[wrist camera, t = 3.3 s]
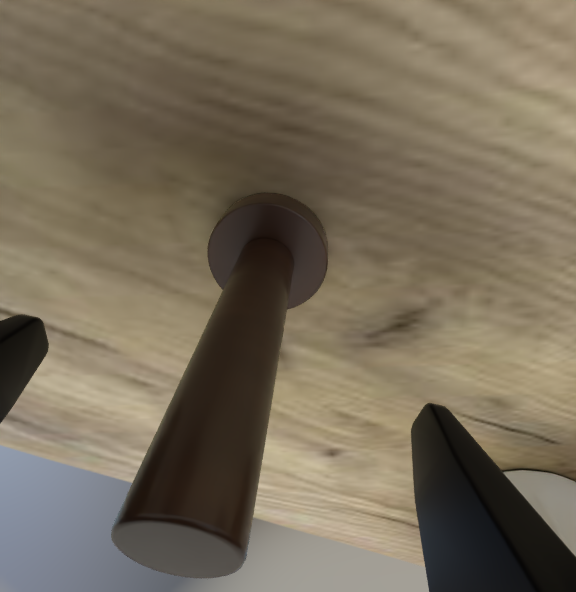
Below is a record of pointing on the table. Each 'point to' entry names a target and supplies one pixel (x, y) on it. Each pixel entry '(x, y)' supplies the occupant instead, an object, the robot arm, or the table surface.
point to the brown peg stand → (224, 396)
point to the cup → (550, 500)
